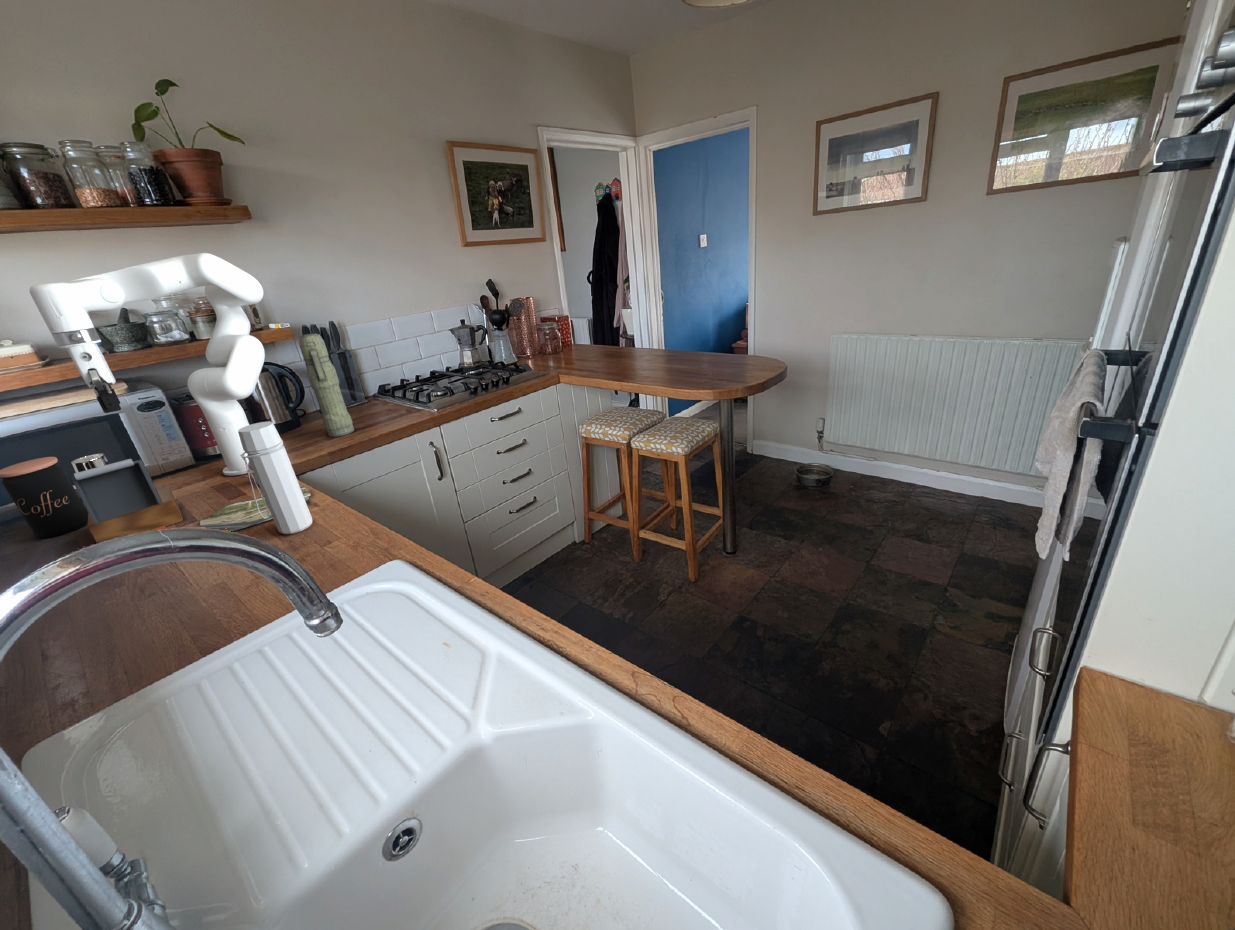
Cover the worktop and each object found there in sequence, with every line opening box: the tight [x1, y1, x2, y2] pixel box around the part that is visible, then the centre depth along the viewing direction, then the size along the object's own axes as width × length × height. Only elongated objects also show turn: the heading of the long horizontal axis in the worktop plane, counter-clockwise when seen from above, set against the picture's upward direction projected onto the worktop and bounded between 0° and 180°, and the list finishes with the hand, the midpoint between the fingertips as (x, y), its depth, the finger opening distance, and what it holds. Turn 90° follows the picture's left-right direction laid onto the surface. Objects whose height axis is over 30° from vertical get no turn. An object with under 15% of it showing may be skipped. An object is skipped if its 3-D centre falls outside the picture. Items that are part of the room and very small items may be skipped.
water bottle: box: [238, 421, 313, 535], centre depth 116 cm, size 9×8×25 cm
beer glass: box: [70, 453, 111, 473], centre depth 142 cm, size 7×7×15 cm
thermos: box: [298, 332, 355, 438], centre depth 182 cm, size 9×12×35 cm
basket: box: [70, 458, 163, 524], centre depth 120 cm, size 12×12×11 cm
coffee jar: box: [0, 456, 88, 539], centre depth 132 cm, size 11×11×18 cm
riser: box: [86, 485, 184, 543], centre depth 131 cm, size 16×14×6 cm
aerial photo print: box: [198, 485, 312, 532], centre depth 131 cm, size 25×19×2 cm
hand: (113, 408), depth 129 cm, fingers open, 9 cm apart
